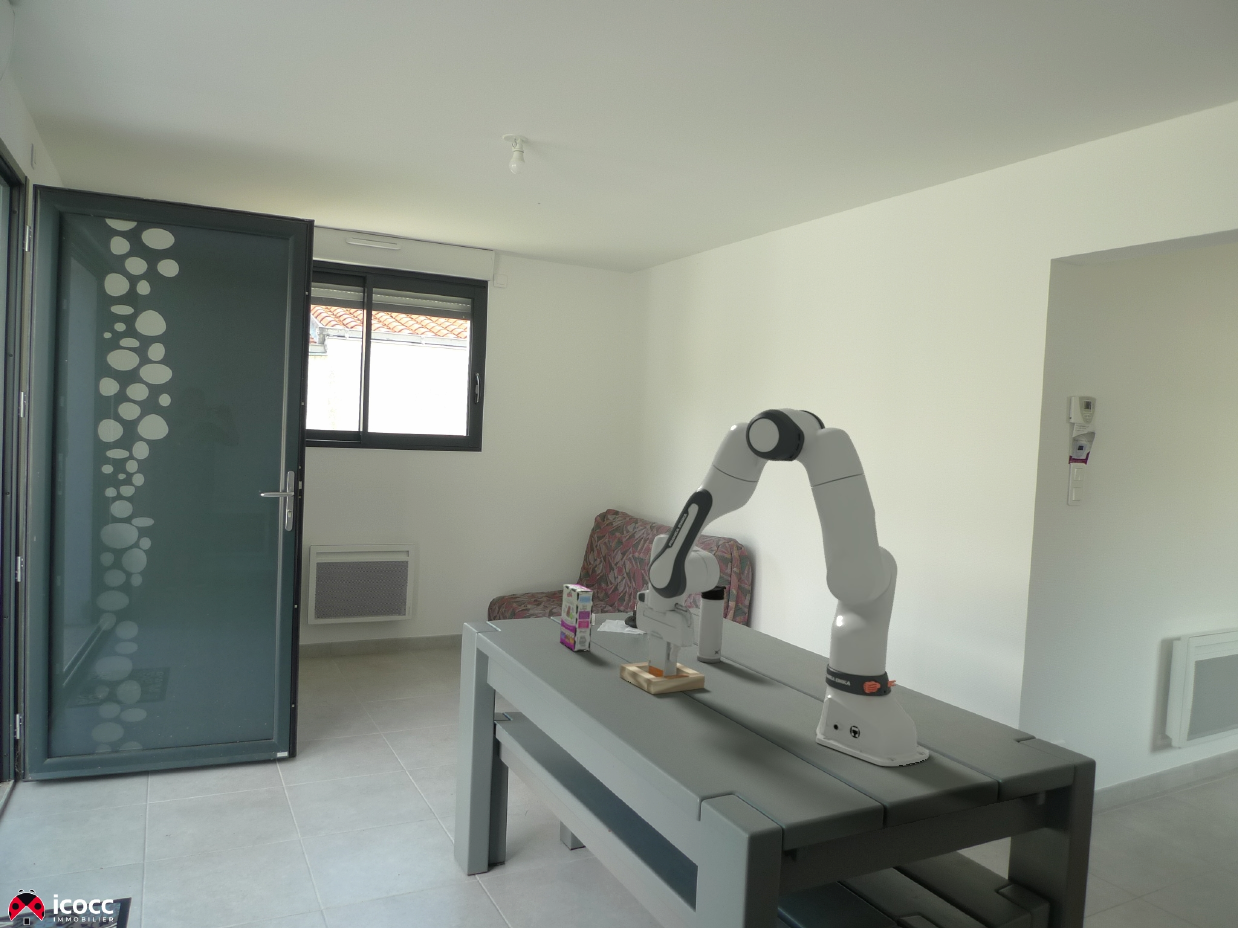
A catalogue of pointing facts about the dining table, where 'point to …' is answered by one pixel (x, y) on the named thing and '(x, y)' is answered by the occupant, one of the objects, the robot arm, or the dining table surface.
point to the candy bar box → (576, 617)
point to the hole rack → (662, 678)
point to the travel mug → (711, 625)
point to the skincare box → (659, 657)
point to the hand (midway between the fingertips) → (662, 656)
